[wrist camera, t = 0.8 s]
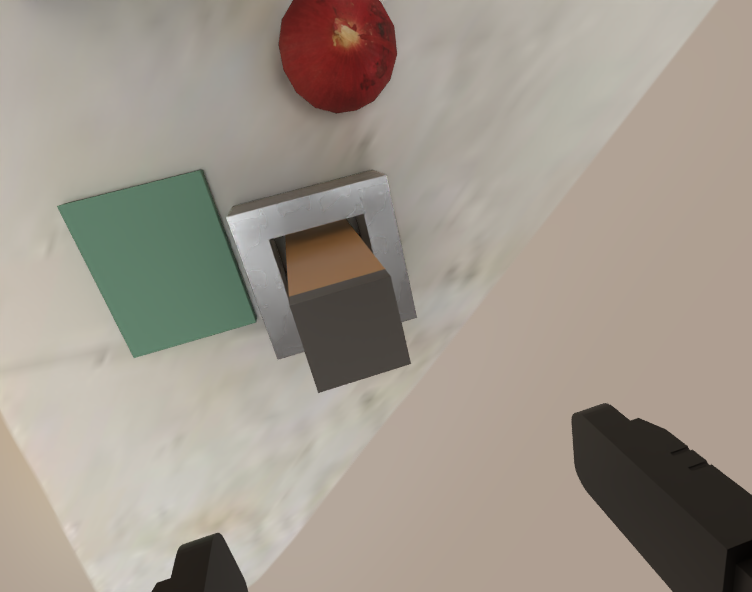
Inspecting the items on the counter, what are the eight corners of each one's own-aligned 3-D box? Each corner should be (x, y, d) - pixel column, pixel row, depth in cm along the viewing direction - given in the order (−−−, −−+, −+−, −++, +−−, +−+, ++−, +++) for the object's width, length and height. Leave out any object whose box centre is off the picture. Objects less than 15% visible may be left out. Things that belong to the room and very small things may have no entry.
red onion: (371, -3, 25) (410, -60, 18) (386, 106, 27) (425, 96, 20) (269, 10, 24) (264, -43, 17) (292, 122, 26) (297, 117, 19)
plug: (284, 233, 29) (289, 305, 17) (344, 217, 29) (390, 276, 17) (302, 289, 30) (318, 393, 18) (359, 273, 30) (410, 363, 19)
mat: (63, 204, 25) (56, 206, 25) (202, 169, 26) (200, 170, 26) (137, 352, 29) (133, 358, 28) (256, 317, 30) (256, 322, 29)
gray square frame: (233, 206, 27) (226, 217, 24) (372, 169, 28) (386, 174, 25) (277, 332, 31) (277, 359, 27) (400, 296, 32) (416, 317, 28)
